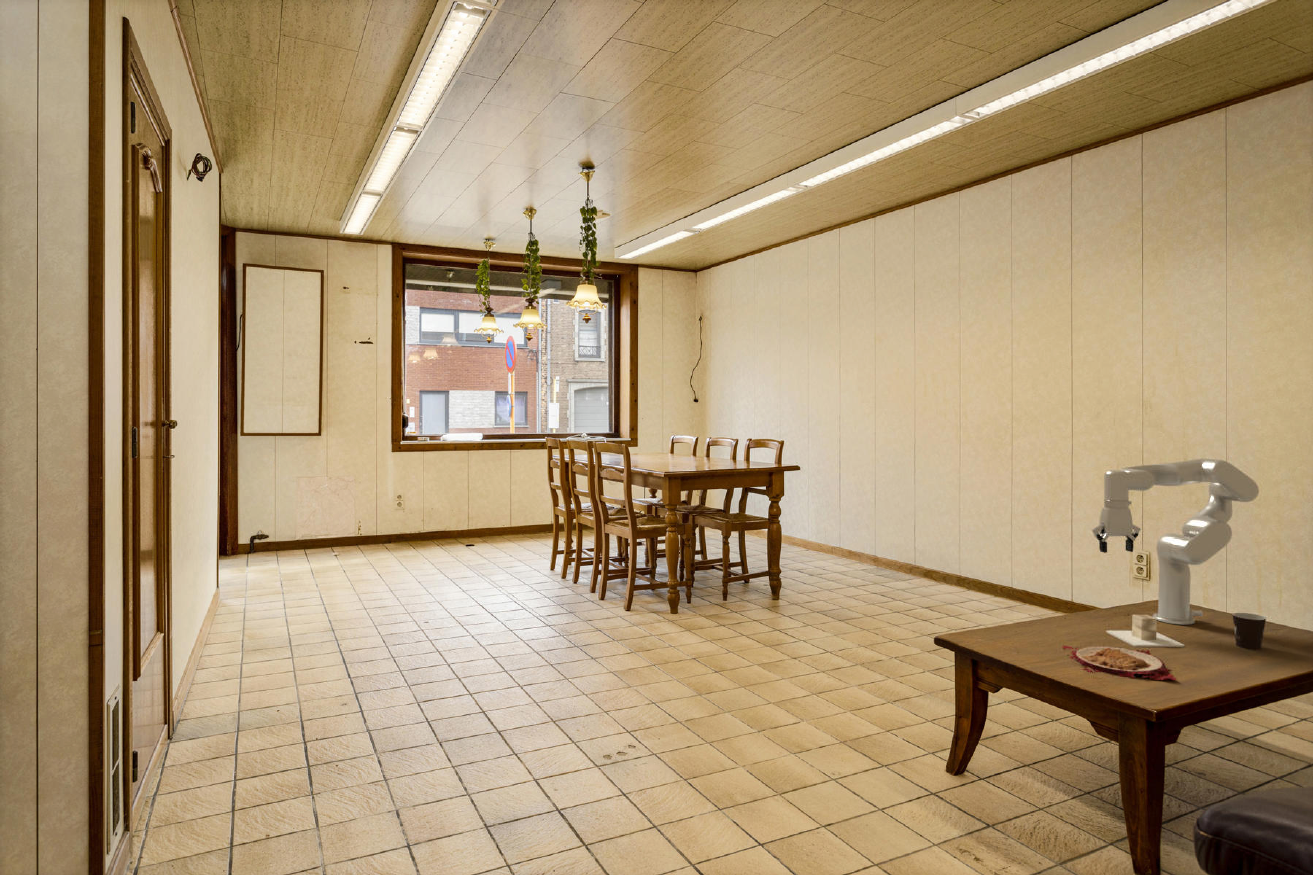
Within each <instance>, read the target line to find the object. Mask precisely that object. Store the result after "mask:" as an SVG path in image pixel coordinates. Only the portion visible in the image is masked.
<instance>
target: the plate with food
mask: <svg viewBox="0 0 1313 875" xmlns="http://www.w3.org/2000/svg"><path fill="white" fill-rule="evenodd" d="M1062 648H1063V650H1071V651H1070V654H1072V655H1070V656H1069V654H1067V656H1068V657H1069V659H1070V658H1071V659H1070V660H1074V662H1075V661H1077V662H1079V664H1081V665H1083V664H1084V665H1083V666H1085V667H1083V668H1082V669H1081V670H1082V671H1084V670H1086V673H1087V672H1090V673H1089V674H1095V673H1098V672H1100V673H1104V672H1105V673H1108V672H1109V674H1111V675H1112V674H1113V675H1112V676H1113V677H1115V675H1118V677H1120V678H1130V679H1136V677H1135V676H1134V675H1135V674H1137V675H1141V678H1148V677H1149V680H1153V681H1159V680H1160V681H1163V680H1165V681H1167V680H1170V681H1175V680H1177V677H1175V676H1174V675H1173V674H1171V673H1170V672H1172V670H1171V669H1169V668H1167V667H1166V664H1165V663H1164V661H1162V659H1160V658H1158V657H1157V656H1156V655H1152V654H1151V652H1150V650H1146V651H1145V650H1144V649H1142V650H1139V649H1136V650H1133V649H1130V648H1124V647H1112V646H1106V645H1105V646H1104V645H1099V646H1098V645H1097V646H1088V647H1083V648H1080V649H1079V648H1078V647H1072V646H1068V645H1062ZM1074 658H1075V659H1074ZM1088 667H1090V669H1089V668H1088ZM1093 669H1095V670H1093ZM1096 669H1097V670H1096ZM1091 672H1092V673H1091Z"/></svg>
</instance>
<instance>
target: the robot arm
mask: <svg viewBox="0 0 1313 875" xmlns="http://www.w3.org/2000/svg"><path fill="white" fill-rule="evenodd" d="M1103 478H1104V482H1103V484H1104V485H1103V486H1104V487H1103V489H1104V492H1103V493H1104V500H1103V501H1104V503H1103V504H1104V505H1103V506H1104V507H1102V508H1101V511H1100V516H1099V523H1098V525H1097V526H1096V527H1094V528H1092V529H1091V531H1092V533H1093V535H1094V537H1095V538H1096V539H1097V541H1098V542H1099V543H1098V544H1099V546H1098V547H1099V552H1102V553H1104V554H1107V553H1108V542H1107V540H1108V538H1109V537H1125V538H1126V539H1125V551H1127V552H1130V553H1134V541H1136V539H1137V538H1138V536H1139V533H1140V532H1141V528H1140V527H1139V526H1136V525H1134V524H1133V515H1132V510H1131V508H1130V506H1131V505H1132V501H1130V500H1129V495H1130V494H1129V491H1139V492H1145V491H1148V490H1150V489H1152V488H1153V486H1161V487H1162V486H1163V487H1180V486H1186V485H1191V484H1192V485H1193V484H1200V483H1209V484H1208V501H1207V504H1206V505H1205V506H1204V507H1203V508H1202V509H1201V510H1199V511H1198V512H1196V514H1194V515H1193V516H1191V517H1190V518H1189V519H1188V520H1187V521H1186V522H1184V523H1183V525H1182V528H1181V532H1182V534H1183V535H1182V534H1177V533H1166V534H1163V535H1161V537H1159V538H1158V540H1157V541H1156V542H1157V543H1156V547H1155V548H1156V553H1157V554H1156V555H1157V558H1158V599H1157V600H1158V601H1157V605H1158V607H1157V608H1158V609H1157V612H1155V613H1153V614H1152V617H1153V618H1156V619H1157V621H1159V622H1161V623H1162V622H1163V623H1166V624H1171V625H1172V624H1173V625H1182V626H1183V625H1187V626H1188V625H1189V626H1190V625H1193V624H1195V620H1196V619H1195V618H1194V617H1203V616H1204V612H1203V610H1194V609H1191V607H1190V605H1191V604H1190V602H1191V577H1192V576H1191V569H1190V566H1189V565H1191V566H1199V565H1201V564H1204V563H1206V562H1207V561H1209V559H1211V558H1212V557H1213V556H1215V555H1216V554H1218V553H1219V552H1220V551H1221V550H1223V549H1224V548H1225V547H1226V546H1227V545H1228V544H1229V543H1230V542H1231V539H1232V536H1233V530H1232V527H1231V526H1230V525H1229V524H1228V523H1229V522H1230V520H1231V519H1232V518H1233V517H1232V516H1233V502H1238V503H1249V502H1252V501H1254V500H1256V499H1257V497H1258V496H1259V492H1260V491H1259V486H1258V484H1257V483H1256V481H1255V480H1253V479H1252V478H1251V477H1250V476H1248V475H1247V474H1246V473H1244V472H1243V471H1242V470H1240V469H1239V468H1238V467H1237V466H1235V465H1233V464H1231V463H1230V462H1228V461H1227V460H1222V459H1213V458H1212V459H1211V458H1198V459H1197V458H1195V459H1191V460H1184V461H1183V460H1182V461H1177V462H1168V463H1167V462H1166V463H1157V464H1146V465H1135V466H1127V467H1123V468H1120V469H1118V470H1116V469H1115V470H1112V469H1111V470H1106V471H1105V472H1104V476H1103Z"/></svg>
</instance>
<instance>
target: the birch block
mask: <svg viewBox="0 0 1313 875" xmlns="http://www.w3.org/2000/svg"><path fill="white" fill-rule="evenodd" d="M1131 620H1132V621H1131V623H1132V624H1131V631H1132V636H1134V637H1137V638H1139V639H1141V640H1156V632H1157V624H1158V622H1157V621H1158V620H1157V619H1156V618H1153V616H1151V615H1148V614H1132V618H1131Z"/></svg>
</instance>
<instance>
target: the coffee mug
mask: <svg viewBox="0 0 1313 875" xmlns="http://www.w3.org/2000/svg"><path fill="white" fill-rule="evenodd" d="M1232 620H1233V629H1234V637H1235V646H1236V647H1239V648H1241V649H1246V650H1251V651H1252V650H1253V651H1254V650H1255V651H1256V650H1257V651H1258V650H1261V649H1262V644H1263V638H1264V633H1265V629H1266V628H1265V627H1266V621H1267V618H1266V617H1265V616H1263V615H1260V614H1256V613H1248V612H1233V613H1232Z"/></svg>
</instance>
